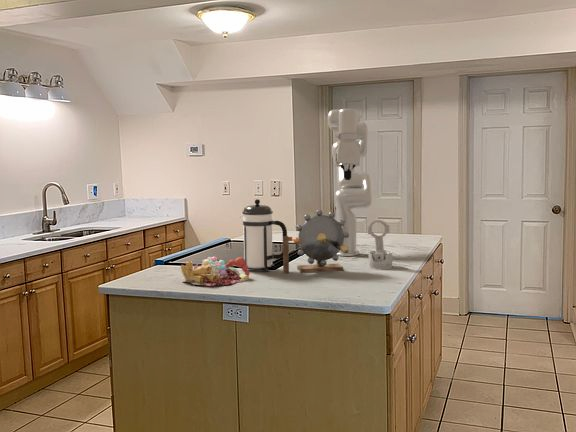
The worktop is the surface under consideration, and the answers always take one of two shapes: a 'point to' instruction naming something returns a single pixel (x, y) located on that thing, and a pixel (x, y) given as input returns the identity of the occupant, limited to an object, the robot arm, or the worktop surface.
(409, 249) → the worktop surface
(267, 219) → the coffee press
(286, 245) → the wheel stand
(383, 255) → the engine component
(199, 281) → the candy landscape model
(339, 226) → the sprocket
